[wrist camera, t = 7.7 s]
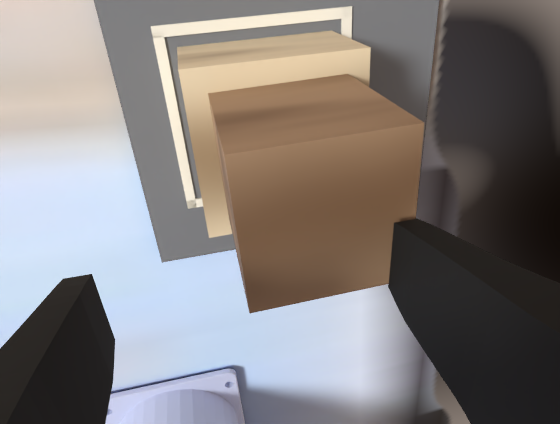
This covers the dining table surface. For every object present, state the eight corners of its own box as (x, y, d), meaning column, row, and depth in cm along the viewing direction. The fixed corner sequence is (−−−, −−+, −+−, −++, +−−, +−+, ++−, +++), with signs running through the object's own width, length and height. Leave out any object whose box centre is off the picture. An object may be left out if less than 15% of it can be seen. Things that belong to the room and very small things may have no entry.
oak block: (332, 169, 20) (364, 210, 17) (202, 189, 19) (209, 238, 16) (331, 30, 17) (370, 47, 14) (177, 47, 16) (178, 69, 13)
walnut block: (347, 196, 16) (410, 279, 12) (229, 217, 16) (249, 313, 11) (347, 73, 14) (423, 122, 10) (207, 93, 13) (224, 154, 9)
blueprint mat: (411, 212, 23) (416, 218, 22) (162, 256, 21) (162, 263, 21) (441, -84, 16) (449, -85, 16) (81, -58, 14) (77, -59, 14)
